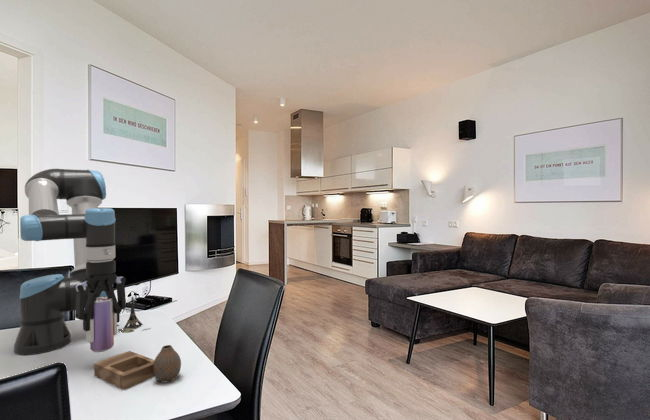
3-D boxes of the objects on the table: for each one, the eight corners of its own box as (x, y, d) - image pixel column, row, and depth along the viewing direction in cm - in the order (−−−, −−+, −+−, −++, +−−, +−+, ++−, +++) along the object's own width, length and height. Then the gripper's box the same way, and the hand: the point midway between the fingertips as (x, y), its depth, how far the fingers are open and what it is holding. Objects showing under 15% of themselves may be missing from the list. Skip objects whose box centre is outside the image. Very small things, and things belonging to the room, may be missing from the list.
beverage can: (102, 353, 105) (102, 302, 104) (85, 351, 106) (84, 301, 106) (118, 345, 111) (117, 296, 110) (101, 343, 112) (100, 295, 111)
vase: (173, 370, 103) (172, 340, 103) (186, 377, 99) (185, 345, 99) (148, 379, 98) (148, 347, 98) (161, 387, 94) (160, 353, 94)
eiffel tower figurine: (112, 326, 144) (111, 293, 144) (139, 321, 151) (139, 289, 151) (122, 336, 133) (121, 300, 133) (151, 330, 140) (150, 295, 140)
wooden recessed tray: (94, 375, 101) (94, 363, 101) (129, 362, 109) (129, 350, 109) (123, 389, 93) (123, 376, 93) (159, 374, 101) (159, 361, 101)
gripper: (71, 266, 98) (72, 351, 98) (139, 257, 114) (139, 330, 114) (58, 263, 102) (60, 345, 102) (125, 255, 118) (126, 325, 118)
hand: (102, 337), depth 108 cm, fingers closed on beverage can, 6 cm apart
